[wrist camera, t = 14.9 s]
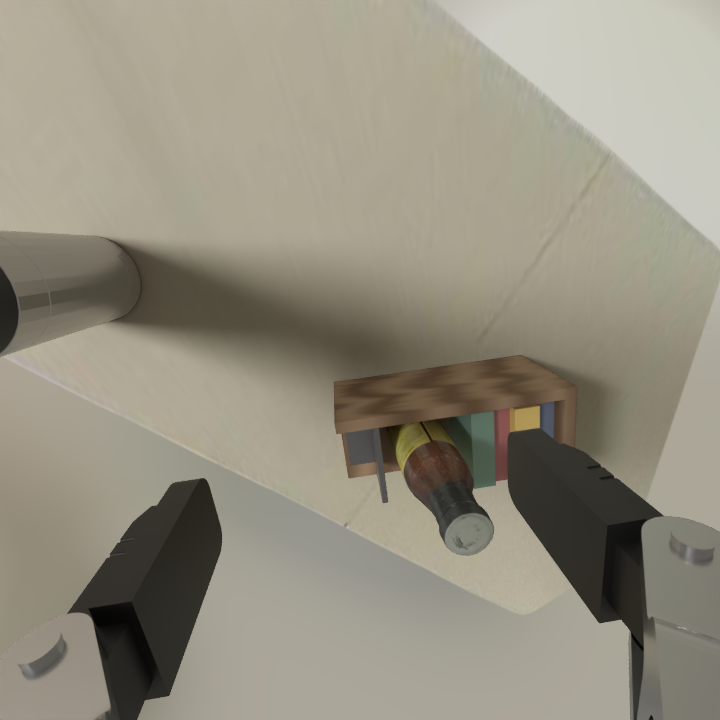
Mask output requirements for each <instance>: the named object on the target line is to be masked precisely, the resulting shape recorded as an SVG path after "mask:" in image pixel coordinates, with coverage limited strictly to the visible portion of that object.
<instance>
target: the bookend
mask: <svg viewBox="0 0 720 720" xmlns="http://www.w3.org/2000/svg"><path fill="white" fill-rule="evenodd" d="M345 434H346V440H347V447H348V453H349V460H350V466H353V465H359V464H366V463H372V462H375V467H376V472H377V477H378V482H379V487H380V492H381V497H382V502H383V503H387V502H388V497H387V489H386V481H385V473H384V465H383V457H382V449H381V441H380V433H379V428H374V429H368V430H361V431H354V432H348V433H345Z"/></svg>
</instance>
